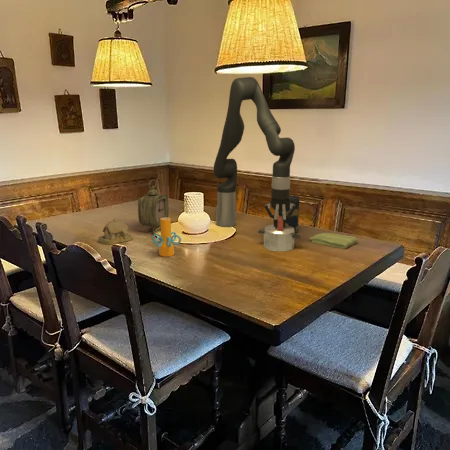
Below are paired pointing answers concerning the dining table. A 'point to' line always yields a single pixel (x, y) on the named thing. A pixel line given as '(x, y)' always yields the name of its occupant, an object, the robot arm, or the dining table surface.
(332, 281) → the dining table surface
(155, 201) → the tabletop clock
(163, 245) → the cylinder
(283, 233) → the lid
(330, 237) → the washcloth
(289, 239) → the pot
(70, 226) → the dining table surface
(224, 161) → the robot arm
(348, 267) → the dining table surface
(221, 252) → the dining table surface
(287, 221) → the canister
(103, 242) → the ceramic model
